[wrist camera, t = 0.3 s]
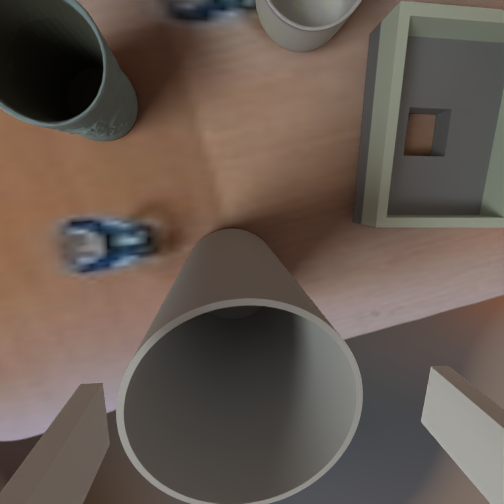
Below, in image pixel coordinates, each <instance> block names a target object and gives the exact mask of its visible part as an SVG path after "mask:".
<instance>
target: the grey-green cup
mask: <svg viewBox="0 0 504 504" xmlns="http://www.w3.org/2000/svg"><path fill="white" fill-rule="evenodd" d="M0 108H1V109H2V110H4V111H5V112H7V113H8V114H10V115H11V116H13V117H15V118H17V119H19V120H21V121H24V122H27V123H30V124H34V125H38V126H42V127H46V128H51V129H56V130H60V131H63V132H69V133H71V134H81V135H82V136H84V137H86V138H88V139H92V140H96V141H113V140H116V139H118V138H121V137H122V136H124V135H126V134H127V133H128V132H129V131H130V130H131V128H132V127H133V125H134V123H135V121H136V118H137V113H138V101H137V96H136V93H135V90H134V88H133V86H132V84H131V82H130V81H129V79H128V77H127V76H126V75H125V74H124V73H123V72H122V71H121V69H120V68H119V65H118V62H117V60H116V59H115V57H114V55H113V53H112V52H111V49H110V48H109V46H108V45H107V43H106V41H105V39H104V38H103V36H102V34H101V32H100V31H99V29H98V27H97V26H96V24H95V22H94V21H93V19H92V18H91V16H90V15H89V13H88V12H87V11H86V10H85V9H84V8H83V6H82V5H81V4H79V3H78V2H77V1H76V0H0Z"/></svg>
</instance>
